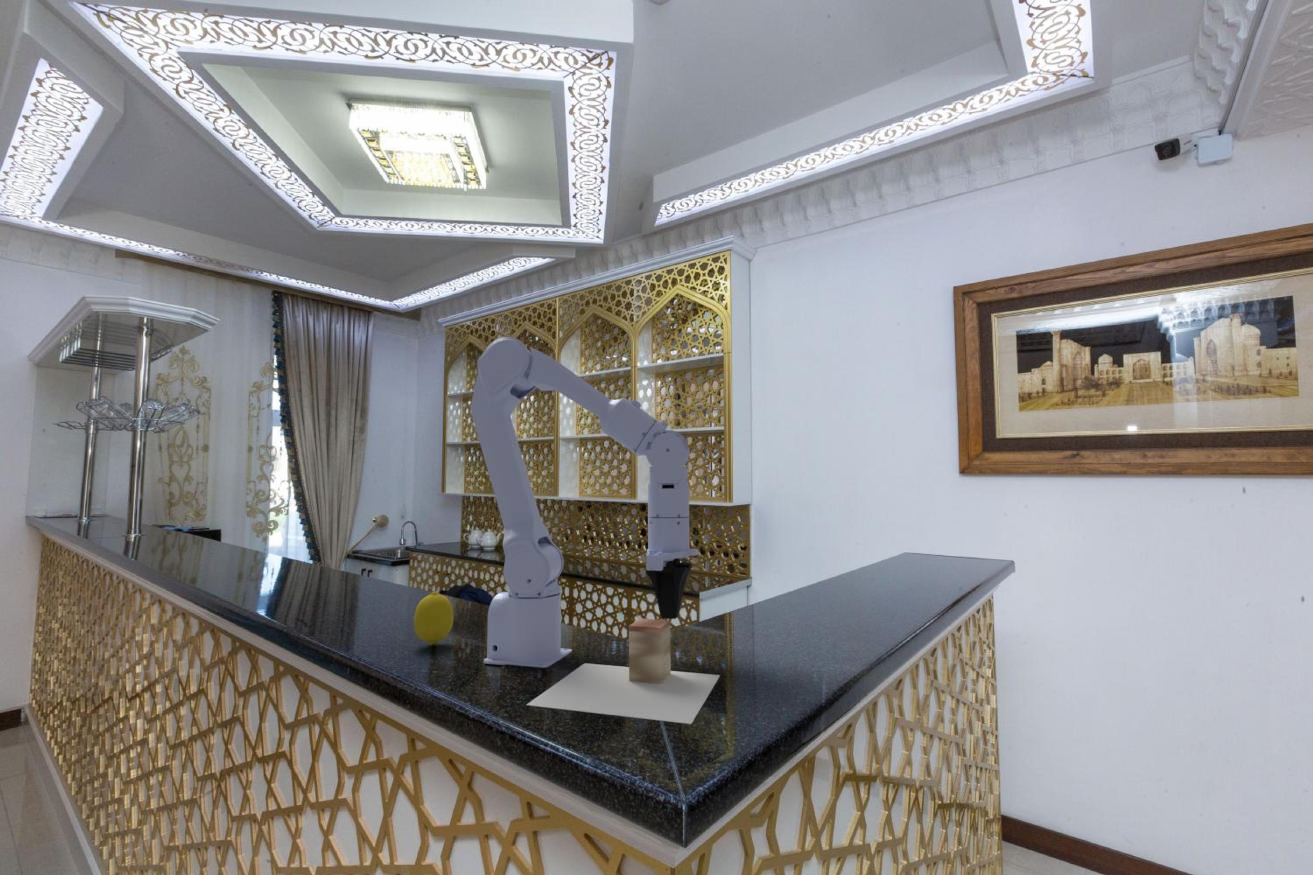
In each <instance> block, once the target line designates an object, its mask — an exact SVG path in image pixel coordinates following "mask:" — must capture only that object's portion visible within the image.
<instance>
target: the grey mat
mask: <svg viewBox="0 0 1313 875" xmlns="http://www.w3.org/2000/svg"><path fill="white" fill-rule="evenodd" d="M720 676H721V674H720V675H719V674H710V673H697V672H687V671H676V670H671V674H670V675H669V676H668V677H667V678H666V679H665V681H664V682H663V683H662V684H654V683H644V682H633V681H629V666H619V665H610V664H609V665H608V664H598V663H597V664H596V663H586V662H585V663H583V664H581V665H580V666H579V667H577V668H576V669H574V670H573V671H572V672H570V673H569V674H568V675H566V676H565V677H563V678H561V679H560V681H558V682H556V683H555V684H553V685H552V686H551V687H549V688H548V689H546V690H545V691H544V692H542V693H541V694H539V695H538V696H536V697H535V698H533V699H532V700H531V701H530V702H528V703H527V704H526V706H530V707H540V708H548V709H556V710H564V711H573V712H582V713H592V714H599V715H608V716H618V717H626V718H634V719H643V720H653V721H660V722H669V723H670V722H671V723H679V724H685V725H692V724H693V722H694V720H695V719H696V717H697V716H698V714H699V713H700V710H701V709H702V707H703V705H704V704H705V702H706V700H707V699H708V697H709V695H710V694H711V692H712V690H713V688H714V687H715V685H717V682H718V680H719V678H720Z"/></svg>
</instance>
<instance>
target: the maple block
mask: <svg viewBox="0 0 1313 875" xmlns="http://www.w3.org/2000/svg"><path fill="white" fill-rule="evenodd" d="M671 661H672V660H671V619H669V620H668V619H653V618H638V619H637V620H635V621H633V623H630V624H629V625H628V667H629V681H633V682H644V683H654V684H662V683H663V682H664V681H665V679H666V678H667V677H668V676H669V675H670V674H671V671H672V670H671V668H672V666H671V663H672V662H671Z"/></svg>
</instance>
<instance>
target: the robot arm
mask: <svg viewBox="0 0 1313 875" xmlns="http://www.w3.org/2000/svg"><path fill="white" fill-rule="evenodd" d="M529 349H530V350H529ZM529 349H528V348H527V347H526V344H524V343H523V342H522V341H521V340H519V338H515V337H511V336H503V337H499V338H496V339H495V340H493V341H492V342H490V343H489V345H488V346H487V347H486V348H485V350H484V351H483V353H482V354H481V356H480V357H479V358H478V359H477V363H476V364H477V377H476V382H475V386H474V389H473V394H472V397H471V398H472V399H471V402H470V412H471V413H470V414H471V417H472V420H473V424H474V427H475V431H476V435H477V438H478V441H479V445H480V448H481V452H482V455H483V458H484V462H485V465H486V469H487V473H488V476H489V480H490V483H491V486H492V489H493V492H494V493H493V494H494V497H495V499H496V503H497V507H498V512H499V513H500V517H501V521H502V525H503V527H504V534H503V541H502V549H503V551H504V564H503V565H504V566H503V572H502V573H503V579H504V581H505V583H506V585H507V587H508V589H507V591H503V592H502V591H501V592H499V593H497V594H496V595H494V596H493V598H492V599H491V602H490V605H489V608H488V612H487V637H486V638H487V640H486V641H487V642H486V646H487V647H486V649H487V650H486V651H487V652H486V658H483V664H488V665H500V666H504V665H511V666H520V667H531V668H541V669H542V668H543V669H544V668H545V669H546V668H549V667H551V666H552V665H554V664H555V663H557V662H558V661H560V660H561V659H564V658H565V657H566V656H568V655H569V654H571V653H572V652H573V649H571V648H561V646H562V645H561V644H562V643H561V642H562V641H561V640H562V639H561V636H562V635H561V634H562V631H561V630H562V629H561V628H562V625H561V622H562V588H561V586H560V585H559V583H558V580H557V579H558V578H559V577H560V575H561V573H562V572H563V569H564V564H565V563H564V562H565V561H564V557H563V553H562V551H561V550H560V548H559V547H558V546H557V545H556V544H555V543H554V542H553V540H552V538H551V535H550V533H549V532H550V531H549V529H548V528H547V526H546V525H545V524H544V521H543V520H542V518H541V515H540V512H539V508H538V505H537V502H536V498H535V495H534V492H533V489H532V485H531V482H530V478H529V475H528V471H527V469H526V468H527V467H526V465H525V462H524V458H523V454H522V451H521V447H520V444H519V441H518V437H517V434H516V432H515V426H514V424H513V421H512V414H513V413H514V411H515V410H516V408H517V407H518V405H519V403H520V402H521V401H522V400H524V398H526V397H527V396H528V395H529V394H531V393H532V392H533V391H535V390H536V389H539V391H541V392H546V391H548V392H549V391H552V392H553V391H556V392H558V393H560V394H561V395H563V396H564V397H566V398H567V399H569V400H570V401H572V402H574V403H575V404H577V405H578V406H580V407H582V409H583V408H584V409H585V410H586V411H588V412H589V413H591V414H593V415H594V416H596V417H597V418H599V422H600V428H601V431H602V433H603V434H605V435H607V436H608V437H610V438H611V439H612V440H614V441H615V442H617V443H619V444H620V445H622V446H623V447H624V448H626V449H627V450H629V451H630V452H632V453H633V454H635V455H636V456H639V457H640V456H645V457H646V459H647V462H648V463H649V464H650V466H649V482H648V484H647V532H648V533H647V534H648V535H647V536H648V537H647V541H648V542H647V544H648V546H647V547H648V548H647V549H646V555H645V573H646V574H647V576H648V578H649V580H650V582H651V584H652V587H653V589H654V590H653V591H654V592H655V593H654V594H655V598H656V601H657V606H658V610H659V615H660V618H661V619H667V620H668V619H669V620H671V619H672V620H676V619H677V618H678V617H679V614H680V609H681V605H682V598H683V592H684V590H685V585H686V582H687V580H688V576H689V574H690V572H691V571H692V568H693V563H691V562H681V559H688V558H689V557H690V556H693V557H694V556H697V555H699V549H698V548H690V484H689V483H688V479H689V471H688V469H687V466H686V464H687V462H688V460H689V458H690V453H691V451H690V450H691V449H689V444H688V442H687V440H686V438H685V437H684V436H683V435H682V434H681V433H679V432H678V431H676V430H674V429H671V430H670V429H667V428H668V426H669V423H668V422H667V421H665V420H664V419H662V420H661V421H660V420H658V419H656V418H655V417H653V416H652V415H651V414H649V413H647V412H646V411H645V410H643V409H641V406H642V404H641V403H640V402H639V401H637V400H636V399H634V398H633V399H632V400H631V401H630V400H628V399H627V398H626V397H624V398H622V397H621V398H617V399H610V398H609V397H608V396H606V395H605V394H603V393H602V392H601V391H599V390H598V389H597V388H595V387H594V386H592V385H591V384H590V383H588V382H586V381H585V380H584V379H583V378H582V377H579V375H577V374H576V373H574V372H573V371H572V370H570V369H569V368H568V367H566V366H565V365H563V364H562V363H561V362H560V361H557V360H556V359H554V358H552V357H551V356H549V355H547V354H545V353H544V352H542V351H539V350H538V349H536V348H533V347H531V346H529Z"/></svg>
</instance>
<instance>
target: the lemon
mask: <svg viewBox="0 0 1313 875" xmlns="http://www.w3.org/2000/svg"><path fill="white" fill-rule="evenodd" d="M414 611H415V612H414V617H413V628H414V632H415V634H416V636H417V637H418V638H419V639H420V640H422V641H423V642H426V643H427V644H428V645H430V644H436V643H437V644H438V643H439V642H441V641H442V640H444V639H445V638H447V636H448V635H449V634H450V632H451V630H452V628H453V624H454V609H453V605H452V603H451V601H450V599H449V598H447V597H446V596H444V595H442V594H440V593H439V592H437V591H432V592H431V593H430V594H428V595H426V596H425V597H423V598H422V599H421V600H420V601H419V603H418V604H417V606H416V608H415V610H414ZM437 644H436V645H437Z"/></svg>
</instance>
